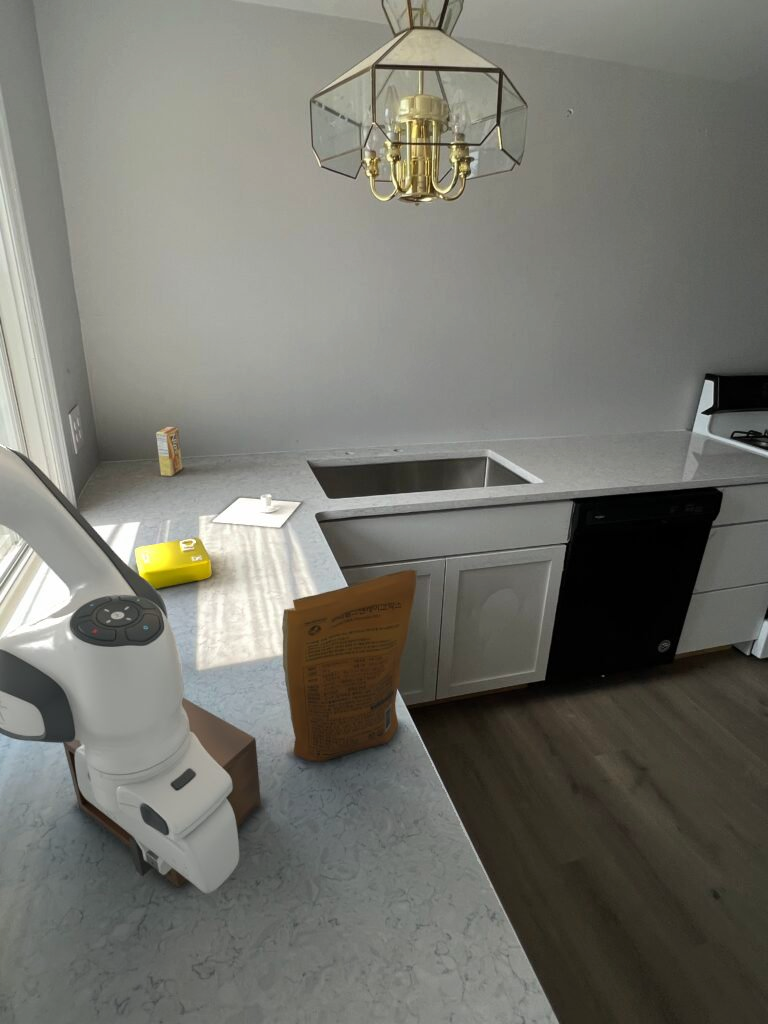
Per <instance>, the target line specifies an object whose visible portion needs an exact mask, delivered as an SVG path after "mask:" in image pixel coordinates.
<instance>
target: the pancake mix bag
mask: <svg viewBox="0 0 768 1024" xmlns="http://www.w3.org/2000/svg"><path fill="white" fill-rule="evenodd" d="M418 571H419V570H417V569H406V570H405V569H404V570H401V571H396V572H392V573H388V574H384V575H380V576H376V577H373V578H369V579H365V580H363V581H360V582H356V583H354V584H350V585H347V586H345V587H341V588H337V589H333V590H330V591H329V590H328V591H325V592H321V593H318V594H312V595H308V596H303V597H299V598H295V599H293V600H292V604H293V607H290V608H285V609H283V614H282V615H283V616H282V624H281V626H282V627H281V631H282V667H283V671H284V682H285V687H286V692H287V693H286V694H287V699H288V704H289V711H290V721H291V724H292V729H293V734H294V738H295V739H294V744H293V745H294V746H293V752H292V755H294V756H296V757H299V758H301V759H304V760H307V761H309V762H314V763H315V762H318V763H319V762H320V763H323V762H326V761H329V760H332V759H336V758H339V757H342V756H346V755H350V754H353V753H357V752H359V751H363V750H366V749H370V748H374V747H378V746H382V745H385V744H388V743H389V742H390V741H392V740H393V738H394V737H395V736H394V735H395V734H396V732H397V730H398V728H399V725H400V723H399V719H398V716H397V707H396V699H397V694H398V690H399V685H400V682H401V681H400V680H401V667H402V666H401V665H402V658H403V653H404V649H405V647H406V643H407V640H408V635H409V628H410V623H411V616H412V609H413V607H414V604H415V600H416V592H417V585H418Z"/></svg>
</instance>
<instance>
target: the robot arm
mask: <svg viewBox="0 0 768 1024" xmlns="http://www.w3.org/2000/svg"><path fill="white" fill-rule="evenodd" d="M0 525H1V526H3V527H5V528H7V529H9V530H10V531H12V532H14V533H15V534H17V535H18V536H19V537H20V538H21V539H22V540H23V541H24V542H25V543H26V544H27V545H28V546H29V547H30V548H31V550H32V551H33V552H34V553H35V554H36V555H37V556H38V557H39V558H40V559H41V561H42V562H44V563H45V564H46V566H48V568H49V569H50V570H51V571H52V572H53V573H54V574H55V575H56V576H57V577H58V578H59V579H60V580H61V581H62V583H64V584H65V586H66V587H67V588H68V591H69V597H67V598H66V599H64V600H63V601H61V602H60V603H58V604H56V605H54V606H53V607H52V608H50V609H48V610H46V611H45V612H43V613H42V614H40V615H38V616H37V617H34V618H32V619H30V620H28V621H26V622H25V623H23V624H22V625H21V626H18V627H17V628H16V629H14V630H13V631H11V632H9V633H8V634H6V635H5V636H3V637H2V638H0V734H1V735H3V736H5V737H7V738H11V739H13V740H18V741H26V742H38V743H39V742H40V743H51V744H53V743H56V744H57V743H58V744H63V743H66V742H72V741H73V740H74V739H77V740H79V741H80V742H81V746H80V747H79V748H77V750H76V751H75V768H76V775H77V782H78V786H79V789H80V791H81V793H82V795H83V796H84V797H85V799H86V800H87V801H89V802H90V803H91V804H93V805H94V806H95V807H96V808H98V809H99V810H100V811H102V812H103V813H104V814H105V815H107V816H108V817H109V818H110V819H112V820H113V821H114V822H115V823H117V824H118V825H119V826H120V827H122V828H123V829H124V830H126V831H127V832H128V833H129V834H131V835H132V836H133V837H134V839H135V840H136V842H137V843H138V845H139V847H140V848H141V850H142V852H143V857H144V860H145V861H146V862H147V863H149V864H150V865H151V866H153V867H152V868H154V869H155V870H156V871H157V870H158V871H157V872H158V873H160V874H161V875H162V876H163V875H165V874H166V873H167V872H168V871H169V870H170V869H171V868H173V869H175V870H176V871H177V872H179V873H180V874H181V875H182V876H184V877H185V878H186V879H187V880H186V881H189V882H190V883H191V884H192V885H193V886H195V887H196V888H197V889H199V890H200V891H201V892H202V893H203V894H207V895H208V894H211V893H213V892H214V891H216V890H218V888H219V887H220V886H221V885H222V884H224V883H225V881H226V880H227V879H228V878H229V877H230V876H231V874H232V873H233V872H234V871H235V870H236V867H237V866H238V864H239V862H240V845H239V844H240V843H239V834H238V833H239V832H238V827H237V825H236V819H235V815H234V812H233V809H232V807H231V805H230V803H229V801H228V800H227V799H226V797H227V796H228V795H229V794H230V793H231V791H232V788H233V786H232V780H231V777H230V775H229V774H228V773H227V772H226V771H225V770H224V769H223V768H222V767H221V766H220V765H219V764H218V763H217V762H216V761H215V760H214V759H213V758H212V757H211V756H210V755H209V754H208V752H207V751H206V750H205V749H204V747H203V746H202V745H201V743H200V742H199V740H198V738H197V737H196V735H195V734H194V733H193V732H190V727H189V720H188V716H187V713H186V711H185V710H184V708H183V706H182V699H183V698H184V695H185V681H184V674H183V667H182V660H181V656H180V651H179V646H178V643H177V640H176V636H175V634H174V631H173V629H172V628H173V627H172V626H171V623H170V622H169V619H168V610H167V606H166V604H165V602H164V599H163V598H162V596H161V594H160V593H159V592H158V590H157V589H155V588H154V587H153V586H152V585H151V584H150V583H148V582H147V581H146V580H145V579H144V578H142V577H141V576H140V575H139V573H138V572H136V571H135V570H134V569H132V568H131V567H130V566H129V565H128V564H127V563H126V562H125V561H123V559H122V558H121V557H120V556H119V555H118V554H117V553H116V552H115V551H114V549H112V548H111V546H110V545H109V544H108V542H107V541H105V539H104V538H103V537H102V536H101V535H100V534H99V532H97V531H96V529H95V528H94V527H93V526H92V525H91V524H90V522H89V521H88V520H87V519H86V518H85V517H84V516H83V515H82V513H81V512H80V511H79V510H78V509H77V508H76V507H75V506H74V504H73V503H72V502H71V501H70V500H69V499H68V498H67V496H65V494H64V493H63V492H62V491H61V490H60V488H58V486H57V485H56V484H55V483H54V482H53V481H52V480H51V479H50V478H49V477H48V475H46V474H45V472H43V470H41V468H40V467H38V465H37V464H35V463H34V462H33V461H32V460H31V459H30V458H29V457H28V456H26V455H25V454H23V453H22V452H21V451H19V450H17V449H15V448H13V447H10V446H6V445H3V444H0Z"/></svg>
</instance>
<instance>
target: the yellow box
mask: <svg viewBox="0 0 768 1024" xmlns="http://www.w3.org/2000/svg"><path fill="white" fill-rule="evenodd" d="M134 551H135V552H134V555H135V560H136V566H137V571H138V574H139V575H140V576H141V577H142V578H144V579H145V580H146V581H147V582H148V583H150V584H151V585H152V586H153V587H154V588H155V589H156V590H157V589H163V588H167V587H168V588H169V587H172V586H178V585H183V584H187V583H193V582H197V581H202V580H203V581H204V580H207V579H209V578H210V577H211V576H212V575H213V573H212V564H211V563H212V562H211V561H212V560H211V557H210V555H209V553H208V551H207V549H206V547H205V545H204V543H203V541H202V540H201V539H200V538H198V537H191V538H184V539H179V540H178V539H177V540H173V541H166V542H159V543H155V544H149V545H148V544H147V545H143V546H142V545H141V546H138V547H137V548H136V549H135V550H134Z"/></svg>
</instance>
